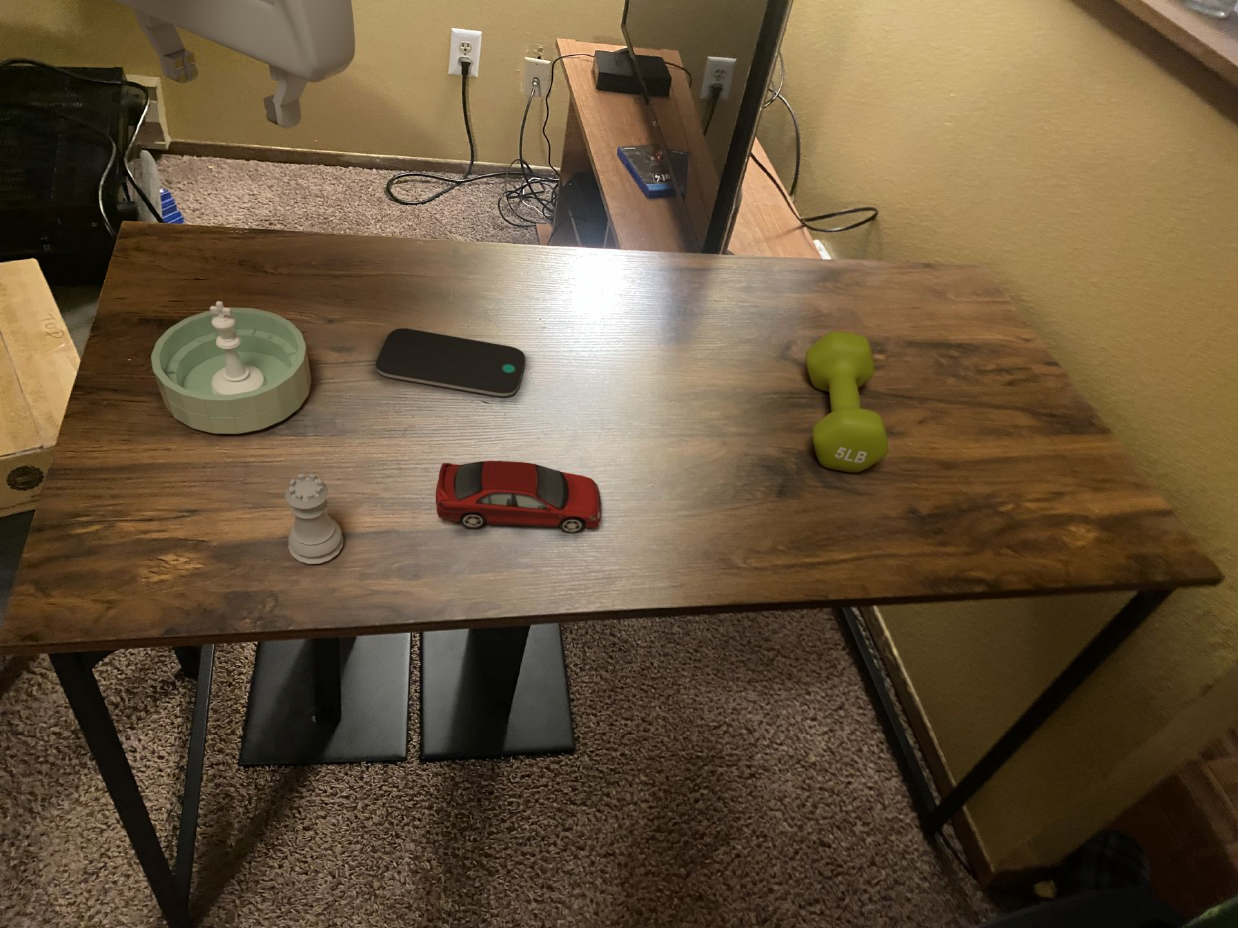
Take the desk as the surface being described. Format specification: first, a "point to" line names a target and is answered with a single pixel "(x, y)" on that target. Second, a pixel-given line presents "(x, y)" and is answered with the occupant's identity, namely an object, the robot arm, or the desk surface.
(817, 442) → the dumbbell
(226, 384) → the chess piece
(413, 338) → the smartphone
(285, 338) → the bowl
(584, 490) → the toy car
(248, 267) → the desk surface
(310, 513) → the rook chess piece
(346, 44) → the robot arm
